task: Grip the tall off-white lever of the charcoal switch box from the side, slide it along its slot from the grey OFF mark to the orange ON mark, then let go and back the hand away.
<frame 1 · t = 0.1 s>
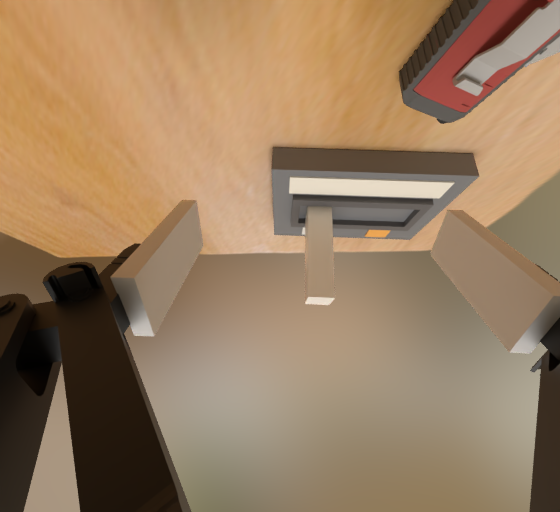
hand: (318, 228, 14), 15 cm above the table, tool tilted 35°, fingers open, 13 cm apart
switch box: (353, 192, 37), on the table
lever: (318, 253, 33), point 9 cm above the table, slide at 0.0 cm
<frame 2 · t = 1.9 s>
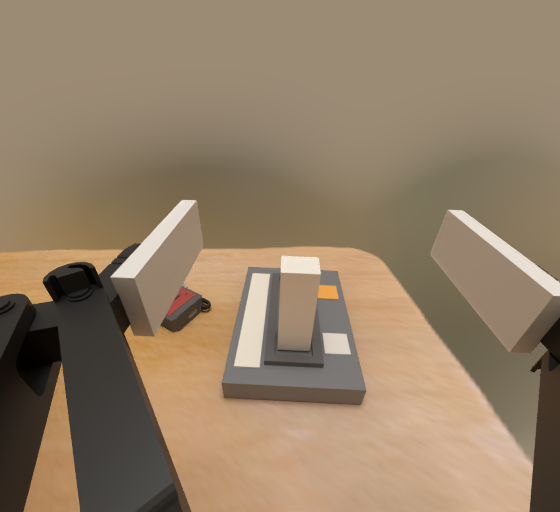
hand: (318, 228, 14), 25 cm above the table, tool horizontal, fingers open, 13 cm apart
switch box: (292, 327, 40), on the table
lever: (296, 306, 31), point 9 cm above the table, slide at 0.0 cm
walkie-talkie: (158, 298, 45), on the table
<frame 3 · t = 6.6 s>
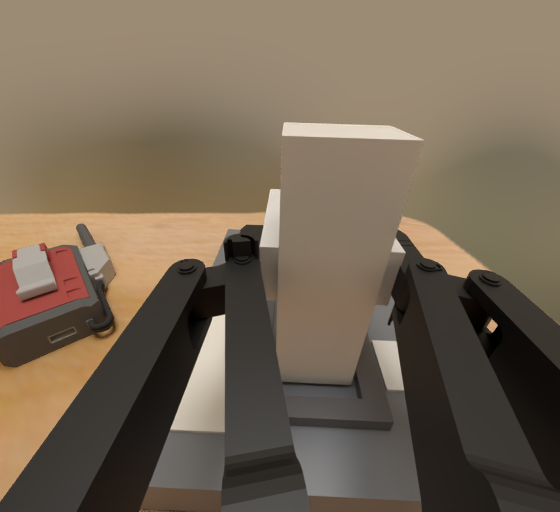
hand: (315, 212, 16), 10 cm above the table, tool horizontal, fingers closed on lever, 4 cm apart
switch box: (303, 329, 21), on the table
lever: (323, 275, 12), point 9 cm above the table, slide at 0.0 cm, touching gripper
walkie-talkie: (65, 286, 26), on the table
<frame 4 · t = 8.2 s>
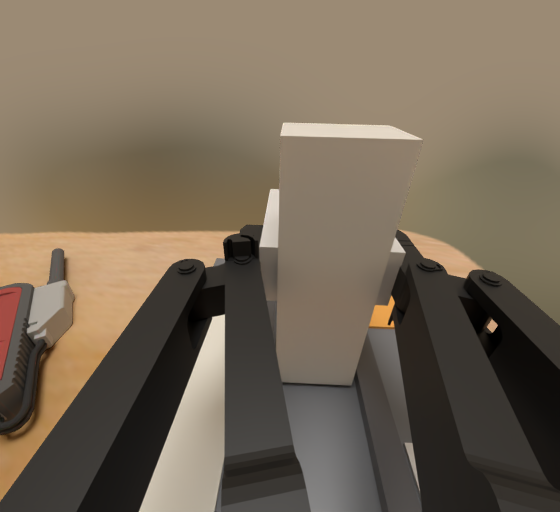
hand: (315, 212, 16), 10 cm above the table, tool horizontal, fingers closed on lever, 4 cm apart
switch box: (307, 400, 17), on the table
lever: (322, 275, 12), point 9 cm above the table, slide at 5.6 cm, touching gripper
walkie-talkie: (11, 336, 21), on the table
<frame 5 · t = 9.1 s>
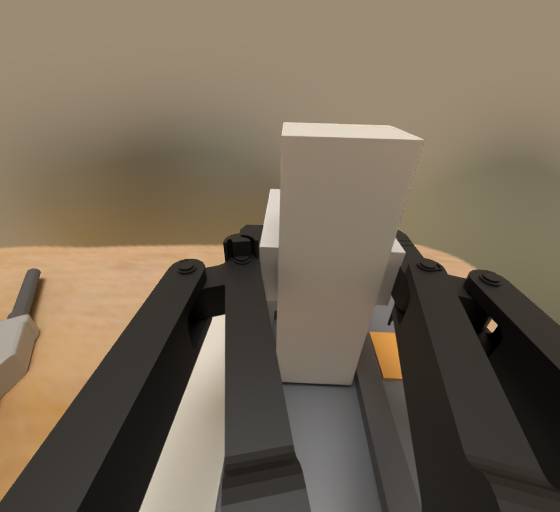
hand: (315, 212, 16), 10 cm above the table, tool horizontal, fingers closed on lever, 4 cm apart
switch box: (311, 473, 13), on the table
lever: (323, 275, 12), point 9 cm above the table, slide at 9.3 cm, touching gripper
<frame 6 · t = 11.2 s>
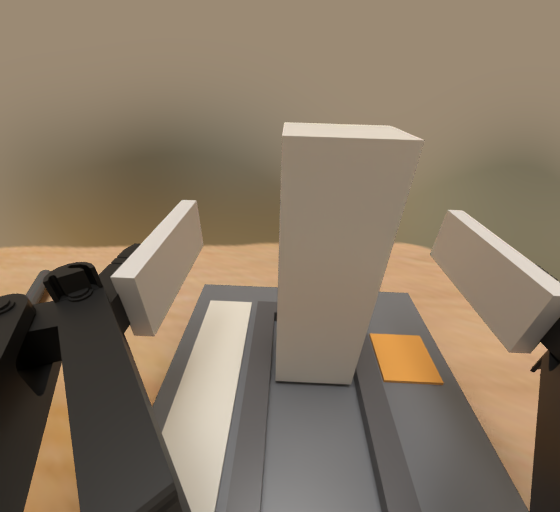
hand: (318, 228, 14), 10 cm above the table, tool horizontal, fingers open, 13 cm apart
switch box: (311, 476, 13), on the table
lever: (323, 275, 12), point 9 cm above the table, slide at 9.5 cm
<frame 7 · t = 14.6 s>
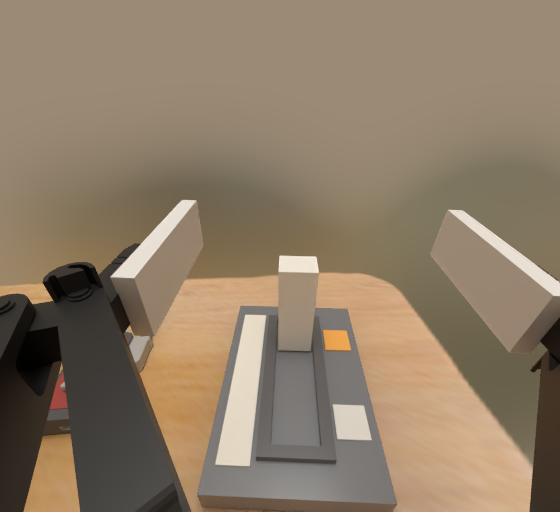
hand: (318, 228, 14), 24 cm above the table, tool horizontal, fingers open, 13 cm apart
switch box: (293, 389, 32), on the table
lever: (296, 306, 31), point 9 cm above the table, slide at 9.5 cm
walkie-talkie: (116, 362, 36), on the table
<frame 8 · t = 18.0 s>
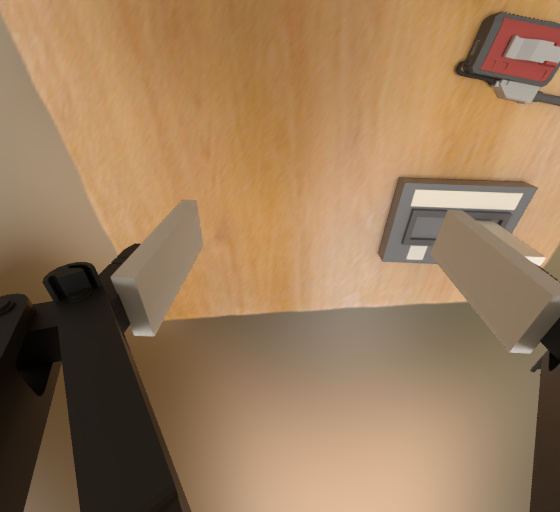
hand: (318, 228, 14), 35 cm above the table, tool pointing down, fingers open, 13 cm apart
switch box: (445, 221, 51), on the table
lever: (500, 246, 43), point 9 cm above the table, slide at 9.5 cm
walkie-talkie: (524, 66, 38), on the table
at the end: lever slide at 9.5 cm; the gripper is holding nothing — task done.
